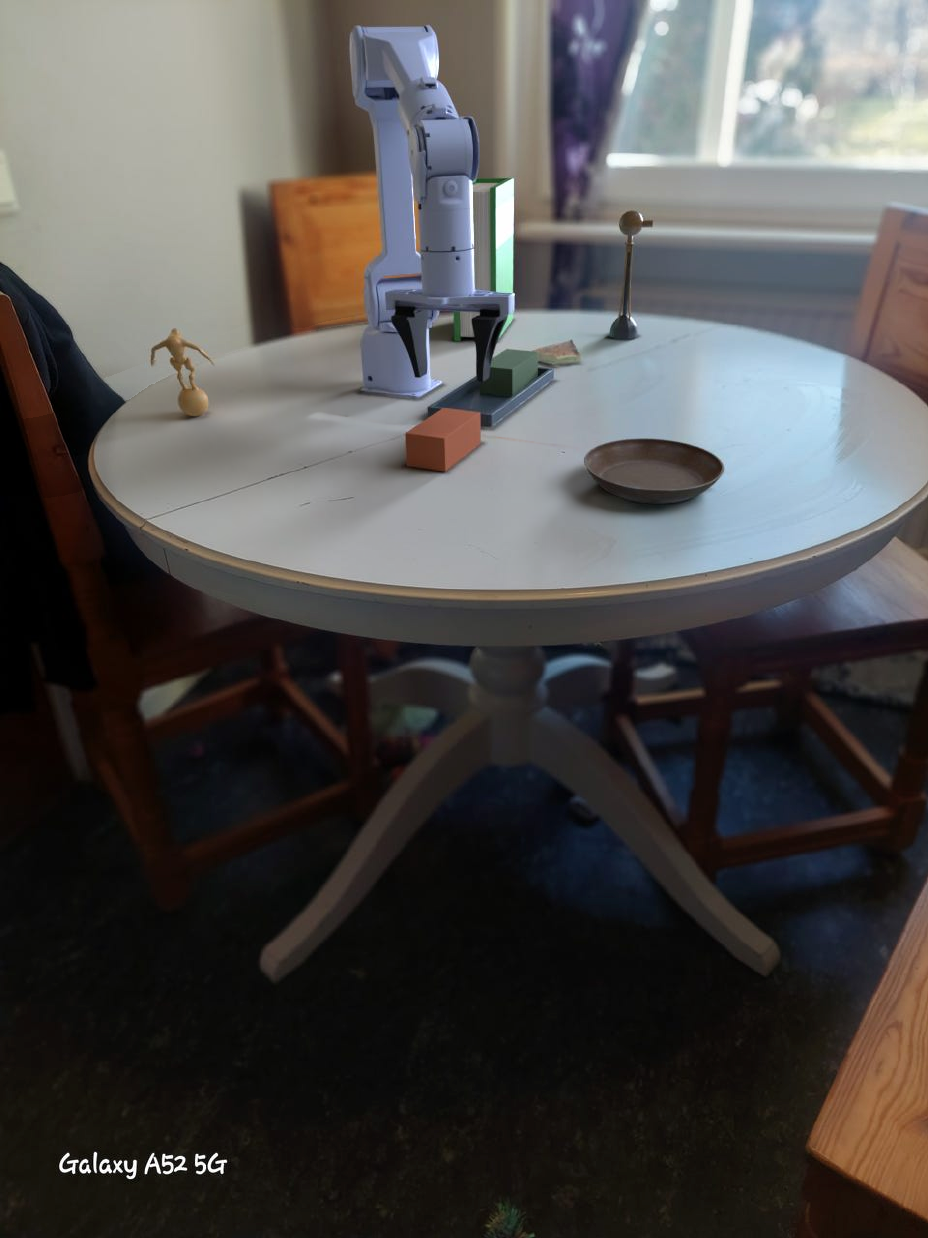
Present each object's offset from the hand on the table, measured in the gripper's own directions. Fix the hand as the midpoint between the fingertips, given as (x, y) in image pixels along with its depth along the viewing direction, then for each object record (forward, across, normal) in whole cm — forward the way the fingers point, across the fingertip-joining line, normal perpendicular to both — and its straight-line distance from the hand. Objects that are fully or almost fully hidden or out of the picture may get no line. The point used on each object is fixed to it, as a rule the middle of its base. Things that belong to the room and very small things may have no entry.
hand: (451, 377), depth 99 cm
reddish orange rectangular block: (+9, -1, 0) cm, 9 cm away
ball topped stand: (+8, +7, +64) cm, 64 cm away
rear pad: (+8, -3, +28) cm, 29 cm away
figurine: (+9, -39, +2) cm, 40 cm away
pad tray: (+9, -3, +22) cm, 24 cm away
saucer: (+10, +24, -2) cm, 26 cm away
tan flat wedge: (+8, -2, +46) cm, 47 cm away
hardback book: (+7, -19, +61) cm, 64 cm away
